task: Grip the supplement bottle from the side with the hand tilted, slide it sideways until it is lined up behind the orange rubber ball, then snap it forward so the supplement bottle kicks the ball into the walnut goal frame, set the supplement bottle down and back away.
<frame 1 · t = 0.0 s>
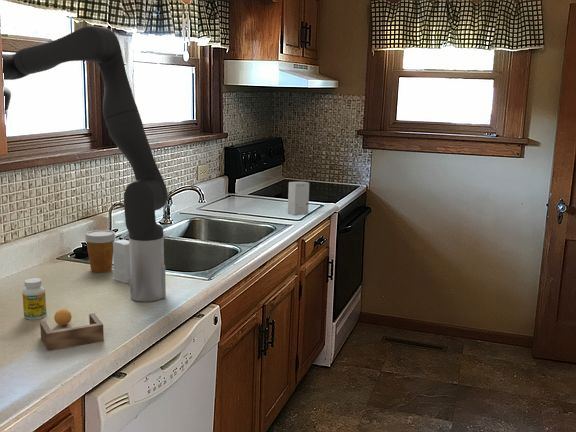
skincare box: (125, 280, 193), on the worktop
disposable coffee cup: (101, 270, 202), on the worktop
skincare box 2: (298, 213, 297), on the worktop
ball: (62, 317, 156), point 2 cm above the worktop
goal: (72, 339, 148), on the worktop
supplement bottle: (35, 317, 162), on the worktop
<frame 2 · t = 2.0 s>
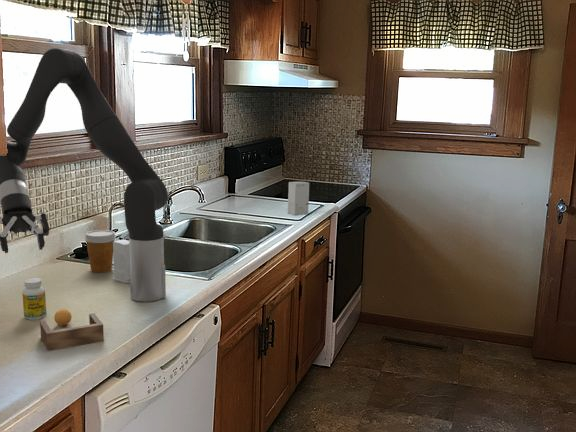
hand: (24, 249, 168), 15 cm above the worktop, tool tilted 45°, fingers open, 8 cm apart
nothing on the worktop moved.
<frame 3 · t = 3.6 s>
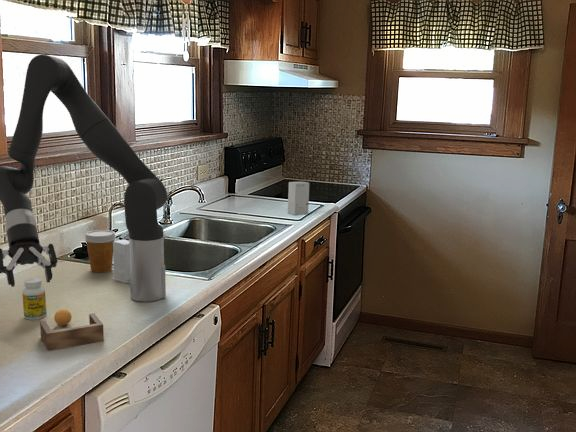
hand: (31, 283, 162), 8 cm above the worktop, tool tilted 45°, fingers open, 8 cm apart
nothing on the worktop moved.
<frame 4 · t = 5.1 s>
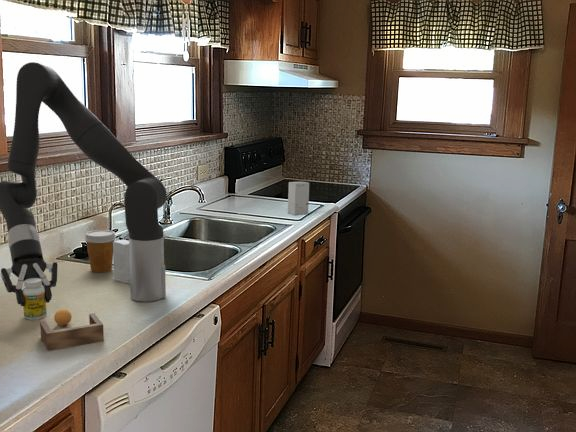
hand: (35, 302, 159), 4 cm above the worktop, tool tilted 45°, fingers closed on supplement bottle, 5 cm apart
supplement bottle: (35, 317, 162), on the worktop, touching gripper
everything else where it was.
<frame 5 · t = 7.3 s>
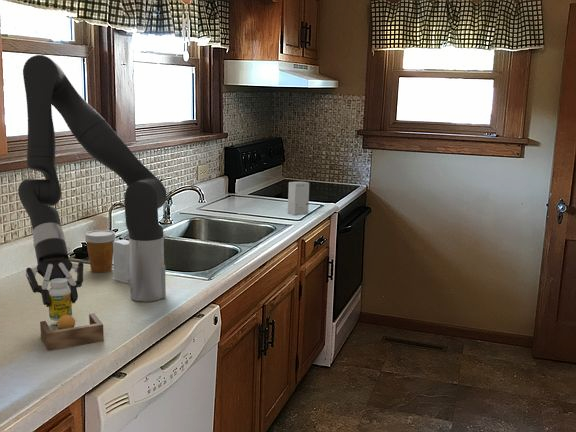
hand: (61, 303, 155), 6 cm above the worktop, tool tilted 45°, fingers closed on supplement bottle, 5 cm apart
ball: (66, 323, 152), point 2 cm above the worktop, tilted 84°
supplement bottle: (60, 318, 158), point 1 cm above the worktop, touching gripper
everything else where it was.
when the fingers open (5 cm above the worktop, at t = 9.3 s): supplement bottle stays where it is, on the worktop.
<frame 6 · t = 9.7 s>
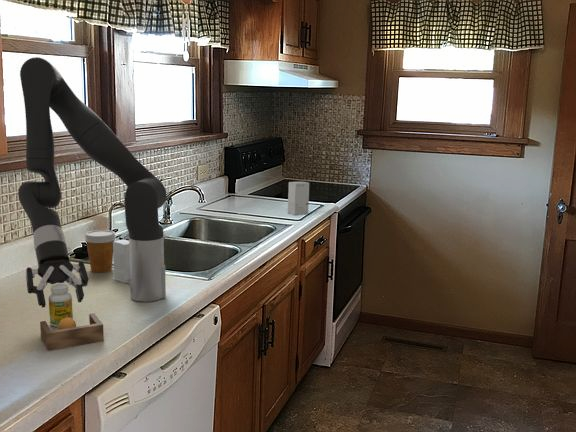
hand: (62, 303, 155), 6 cm above the worktop, tool tilted 45°, fingers open, 8 cm apart
ball: (67, 326, 151), point 2 cm above the worktop, tilted 146°
supplement bottle: (61, 324, 157), on the worktop
everything else where it was.
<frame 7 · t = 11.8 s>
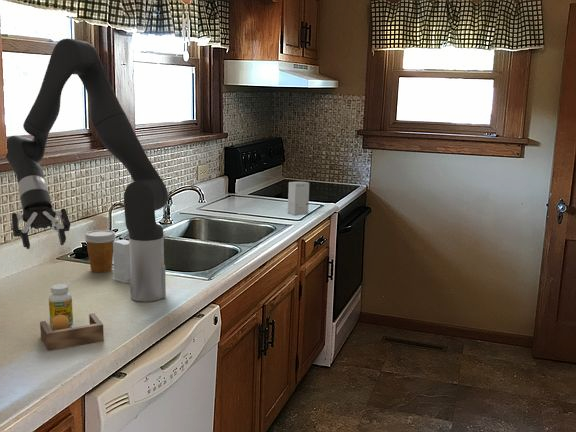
hand: (45, 245, 167), 16 cm above the worktop, tool tilted 45°, fingers open, 8 cm apart
ball: (60, 322, 152), point 2 cm above the worktop, tilted 69°
everything else where it was.
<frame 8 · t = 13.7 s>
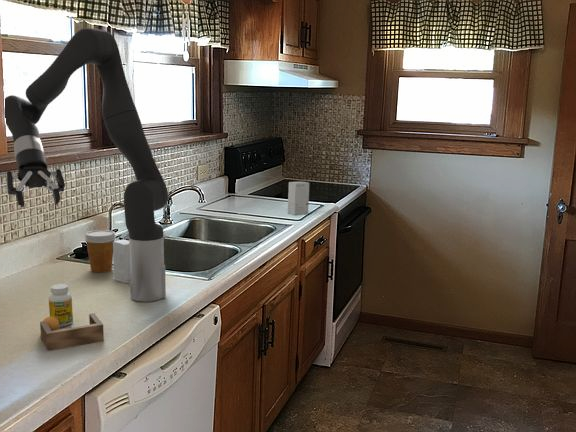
hand: (40, 204, 168), 27 cm above the worktop, tool tilted 45°, fingers open, 8 cm apart
ball: (50, 324, 151), point 2 cm above the worktop, tilted 95°
everything else where it was.
at the end: ball inside the target area on the goal (6.8 cm from its centre), point 2.0 cm above the goal's base; the gripper is holding nothing; supplement bottle on the worktop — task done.
